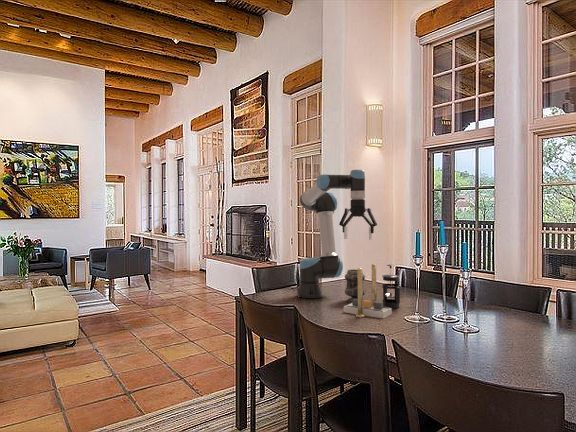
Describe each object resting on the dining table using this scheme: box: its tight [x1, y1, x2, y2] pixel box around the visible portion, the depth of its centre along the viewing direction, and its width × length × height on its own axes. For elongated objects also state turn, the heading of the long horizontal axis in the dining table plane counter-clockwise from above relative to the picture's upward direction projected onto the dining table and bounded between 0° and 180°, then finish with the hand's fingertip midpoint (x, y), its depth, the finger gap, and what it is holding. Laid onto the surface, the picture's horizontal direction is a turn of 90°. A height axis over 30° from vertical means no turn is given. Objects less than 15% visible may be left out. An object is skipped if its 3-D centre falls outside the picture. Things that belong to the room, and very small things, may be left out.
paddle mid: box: [363, 299, 372, 308], centre depth 214 cm, size 4×2×3 cm, turn 53°
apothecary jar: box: [343, 268, 366, 304], centre depth 242 cm, size 12×12×18 cm
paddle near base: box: [352, 299, 358, 306], centre depth 218 cm, size 4×2×3 cm, turn 53°
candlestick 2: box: [371, 263, 377, 305], centre depth 220 cm, size 4×4×24 cm
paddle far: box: [374, 301, 383, 309], centre depth 211 cm, size 4×2×3 cm, turn 53°
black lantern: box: [381, 264, 401, 310], centre depth 226 cm, size 12×9×23 cm
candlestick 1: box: [355, 267, 366, 319], centre depth 208 cm, size 4×4×24 cm
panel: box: [343, 302, 393, 319], centre depth 214 cm, size 22×10×3 cm, turn 53°
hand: (357, 239), depth 222 cm, fingers open, 13 cm apart
